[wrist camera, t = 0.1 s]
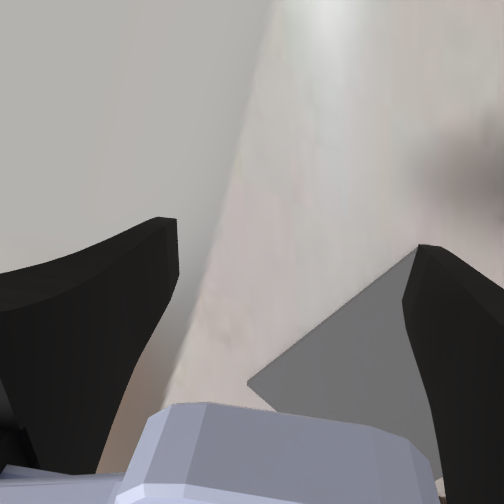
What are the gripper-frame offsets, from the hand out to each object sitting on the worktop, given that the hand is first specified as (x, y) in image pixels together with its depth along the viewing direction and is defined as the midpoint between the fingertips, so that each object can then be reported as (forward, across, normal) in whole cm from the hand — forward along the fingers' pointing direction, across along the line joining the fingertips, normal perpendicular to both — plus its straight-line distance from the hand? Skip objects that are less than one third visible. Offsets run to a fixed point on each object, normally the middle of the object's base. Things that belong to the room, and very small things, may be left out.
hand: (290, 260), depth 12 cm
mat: (+8, -8, +14) cm, 18 cm away
